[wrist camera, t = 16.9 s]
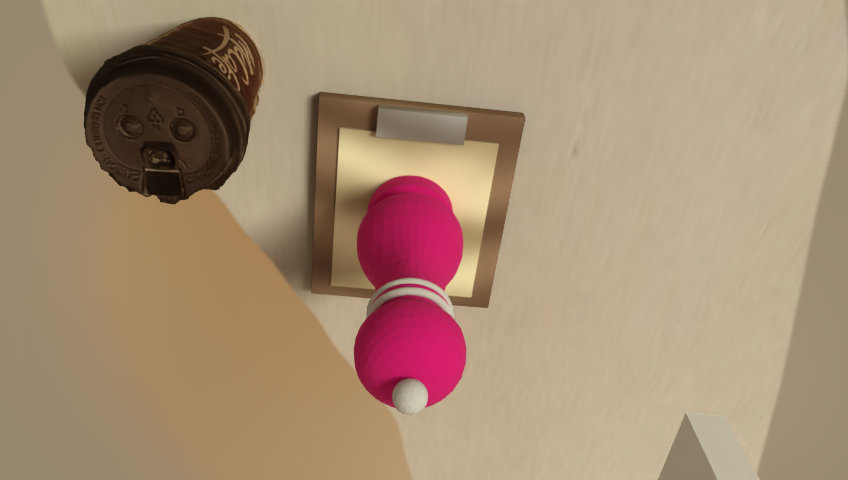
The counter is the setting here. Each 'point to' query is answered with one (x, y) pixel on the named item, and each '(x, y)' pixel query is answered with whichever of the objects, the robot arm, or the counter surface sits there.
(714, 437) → the robot arm
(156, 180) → the coffee cup
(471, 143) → the clipboard
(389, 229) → the pepper mill
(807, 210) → the counter surface
